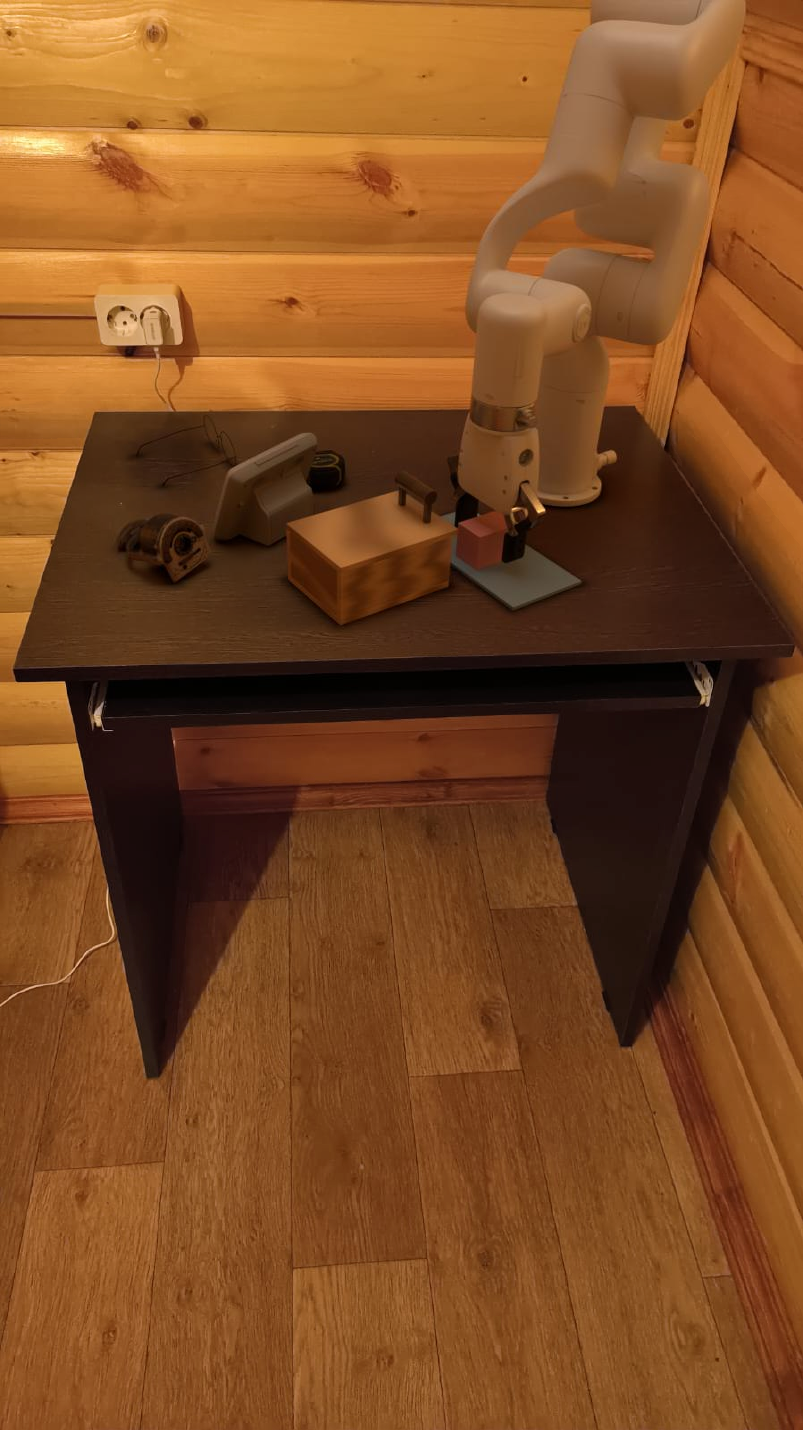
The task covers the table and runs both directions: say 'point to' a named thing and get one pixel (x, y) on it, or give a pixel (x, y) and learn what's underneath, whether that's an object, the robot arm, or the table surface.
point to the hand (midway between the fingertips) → (488, 542)
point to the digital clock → (267, 492)
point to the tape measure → (326, 470)
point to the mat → (516, 576)
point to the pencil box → (368, 579)
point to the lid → (375, 527)
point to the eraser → (481, 540)
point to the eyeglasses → (210, 442)
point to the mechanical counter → (167, 543)
